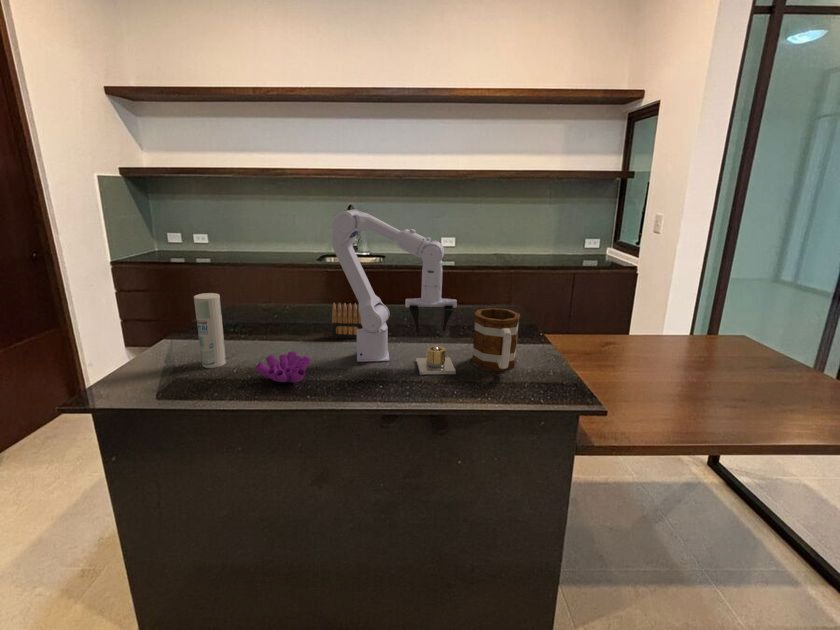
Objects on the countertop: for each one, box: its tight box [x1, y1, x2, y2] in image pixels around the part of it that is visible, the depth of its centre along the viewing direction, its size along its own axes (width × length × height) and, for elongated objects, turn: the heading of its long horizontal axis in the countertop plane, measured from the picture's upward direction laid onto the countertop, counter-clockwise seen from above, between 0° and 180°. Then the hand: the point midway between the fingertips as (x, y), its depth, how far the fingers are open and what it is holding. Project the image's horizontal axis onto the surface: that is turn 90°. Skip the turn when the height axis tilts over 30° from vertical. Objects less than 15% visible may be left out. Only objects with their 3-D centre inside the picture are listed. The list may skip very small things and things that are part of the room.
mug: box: [471, 307, 521, 372], centre depth 135 cm, size 20×14×15 cm
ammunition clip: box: [331, 302, 363, 339], centre depth 157 cm, size 11×2×12 cm, turn 89°
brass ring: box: [425, 345, 447, 364], centre depth 134 cm, size 5×5×4 cm
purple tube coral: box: [254, 351, 312, 383], centre depth 124 cm, size 11×15×10 cm
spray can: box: [193, 292, 227, 369], centre depth 131 cm, size 6×6×20 cm
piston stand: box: [415, 347, 457, 376], centre depth 134 cm, size 10×10×6 cm
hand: (430, 330), depth 136 cm, fingers open, 7 cm apart
